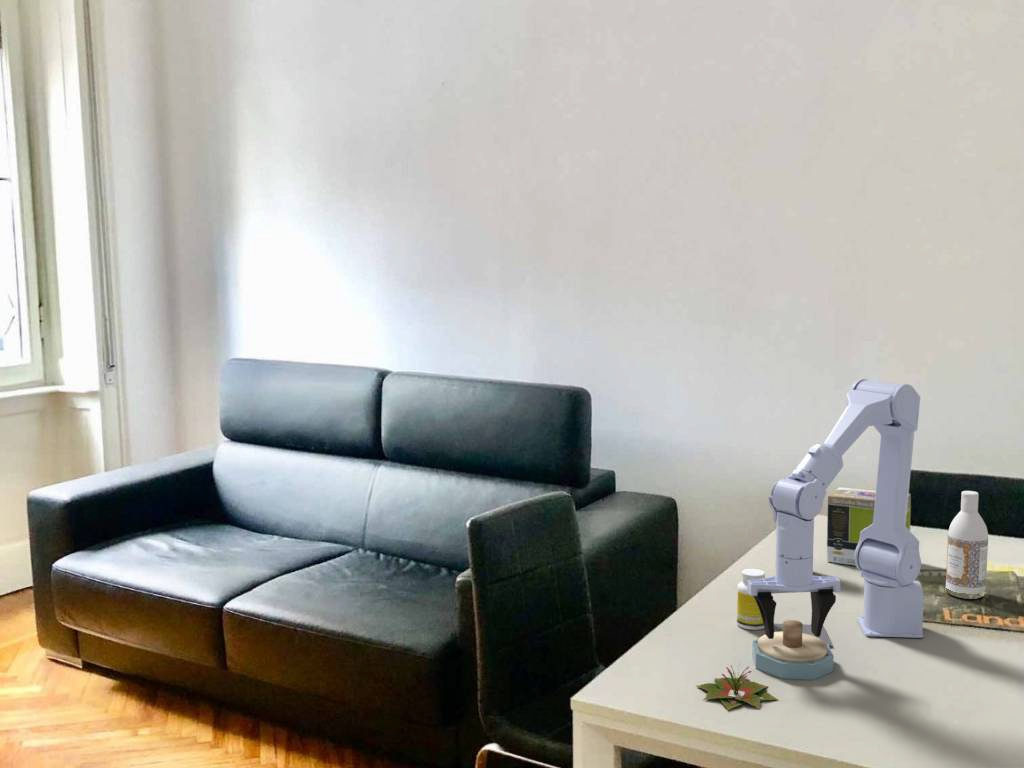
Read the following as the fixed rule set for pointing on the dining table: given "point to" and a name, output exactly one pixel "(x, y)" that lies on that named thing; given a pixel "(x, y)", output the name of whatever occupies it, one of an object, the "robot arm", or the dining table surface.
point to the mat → (807, 632)
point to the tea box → (850, 521)
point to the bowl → (792, 665)
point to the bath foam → (967, 548)
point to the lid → (793, 644)
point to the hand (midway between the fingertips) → (792, 635)
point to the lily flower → (736, 690)
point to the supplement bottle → (748, 602)
